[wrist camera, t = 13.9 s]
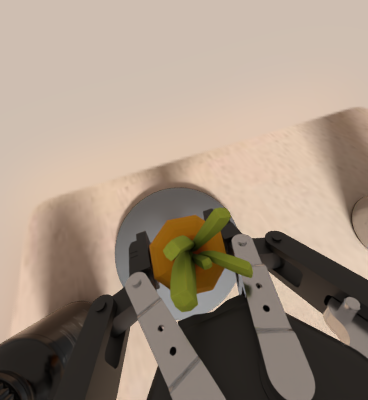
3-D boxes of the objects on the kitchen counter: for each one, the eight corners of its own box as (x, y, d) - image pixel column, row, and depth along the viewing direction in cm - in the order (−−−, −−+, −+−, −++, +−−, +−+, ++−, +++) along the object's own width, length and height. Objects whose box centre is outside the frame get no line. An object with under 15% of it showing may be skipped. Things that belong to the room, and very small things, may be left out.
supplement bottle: (48, 304, 20) (-117, 385, 9) (108, 295, 21) (29, 359, 9) (44, 374, 19) (-166, 590, 7) (109, 362, 19) (15, 542, 8)
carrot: (186, 220, 21) (216, 167, 7) (209, 255, 20) (301, 279, 6) (151, 243, 20) (100, 239, 6) (174, 281, 19) (181, 386, 5)
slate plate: (212, 176, 26) (214, 173, 25) (258, 286, 22) (262, 288, 21) (104, 210, 23) (101, 209, 22) (136, 339, 20) (135, 344, 19)
